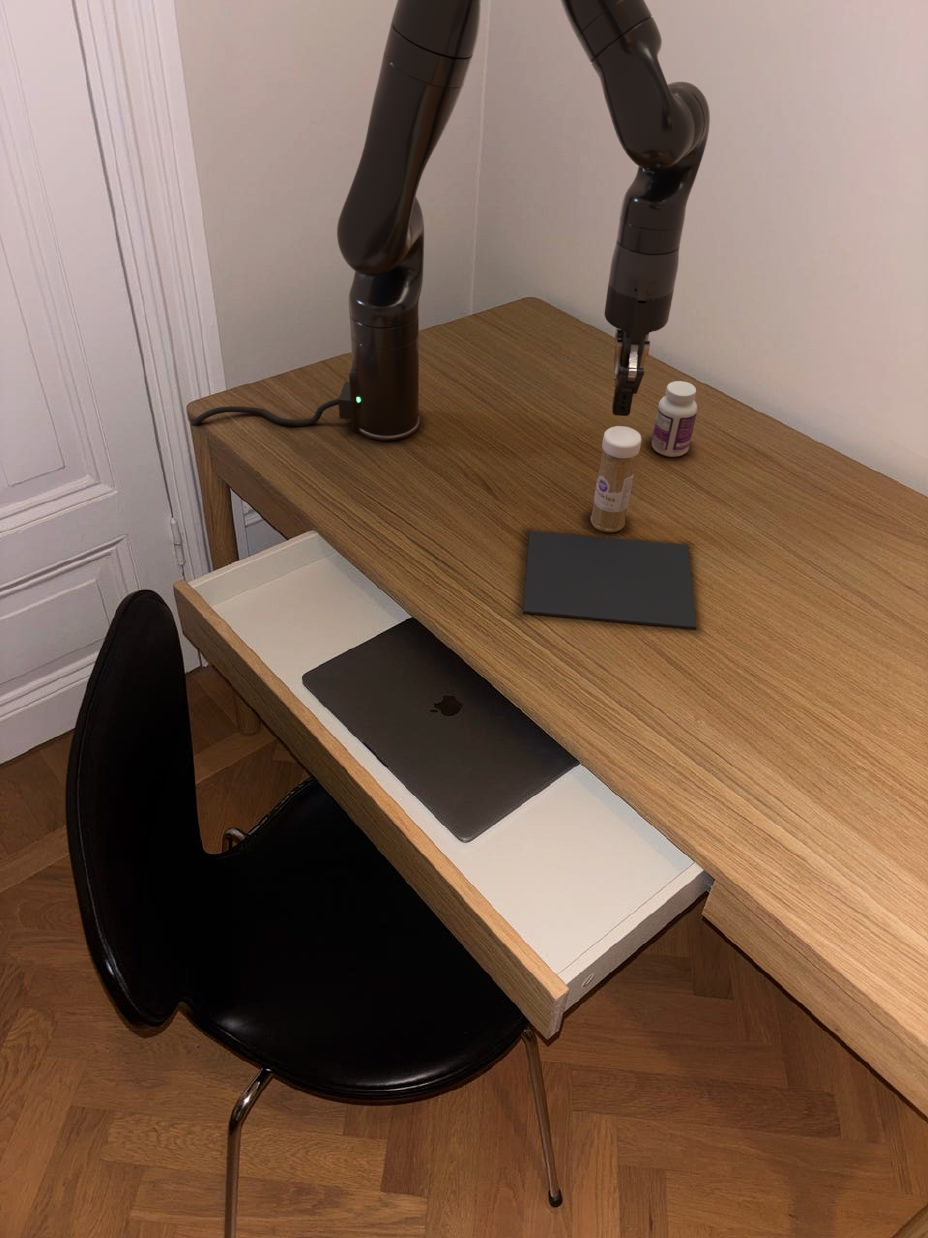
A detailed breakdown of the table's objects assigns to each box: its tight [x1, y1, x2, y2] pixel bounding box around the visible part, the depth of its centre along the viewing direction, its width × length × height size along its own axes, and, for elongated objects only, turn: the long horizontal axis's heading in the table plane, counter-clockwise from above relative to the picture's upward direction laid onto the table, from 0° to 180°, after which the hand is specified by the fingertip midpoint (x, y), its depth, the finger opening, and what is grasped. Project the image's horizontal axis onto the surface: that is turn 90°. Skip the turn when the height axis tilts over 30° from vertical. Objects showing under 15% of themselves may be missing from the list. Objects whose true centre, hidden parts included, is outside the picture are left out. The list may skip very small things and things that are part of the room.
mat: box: [522, 530, 697, 630], centre depth 115 cm, size 20×15×1 cm
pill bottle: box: [651, 380, 698, 458], centre depth 133 cm, size 5×5×10 cm
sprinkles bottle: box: [590, 425, 642, 533], centre depth 118 cm, size 5×5×14 cm
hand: (620, 412), depth 121 cm, fingers closed
